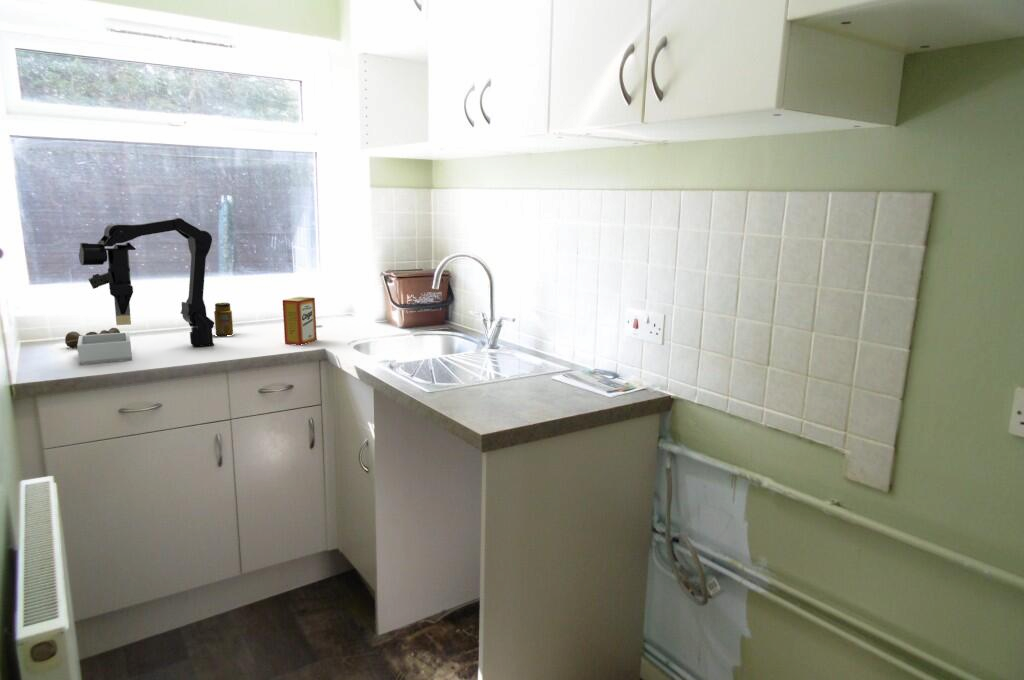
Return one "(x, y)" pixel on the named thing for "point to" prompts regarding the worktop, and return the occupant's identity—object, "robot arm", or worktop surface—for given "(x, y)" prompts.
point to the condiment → (223, 319)
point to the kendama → (73, 337)
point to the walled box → (104, 348)
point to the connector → (122, 315)
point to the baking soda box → (299, 320)
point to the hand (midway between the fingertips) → (122, 313)
